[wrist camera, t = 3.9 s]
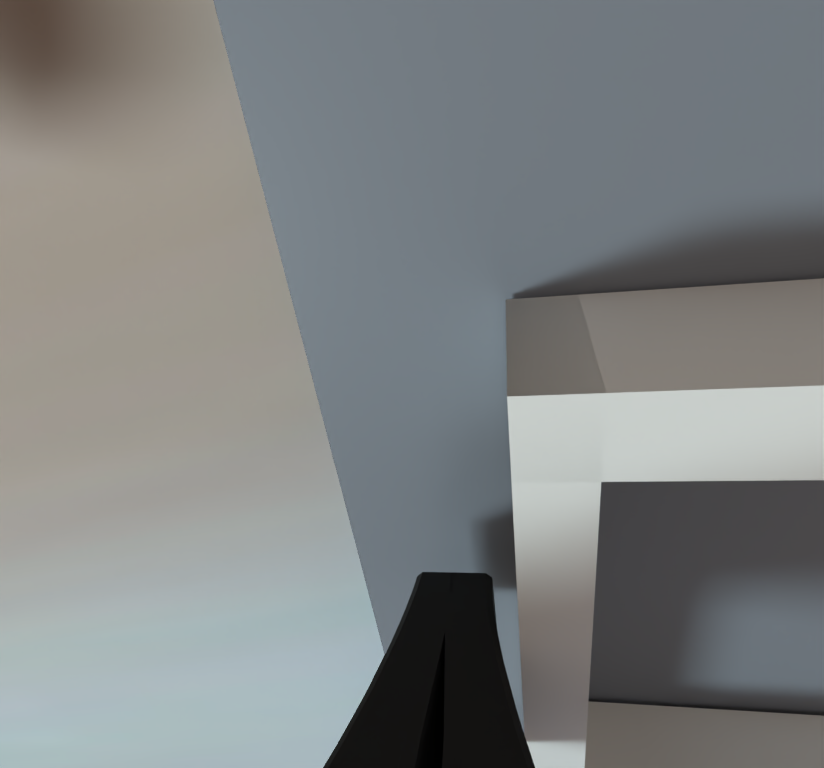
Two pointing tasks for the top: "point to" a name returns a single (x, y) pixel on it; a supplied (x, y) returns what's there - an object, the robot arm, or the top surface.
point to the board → (545, 289)
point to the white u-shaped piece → (642, 462)
